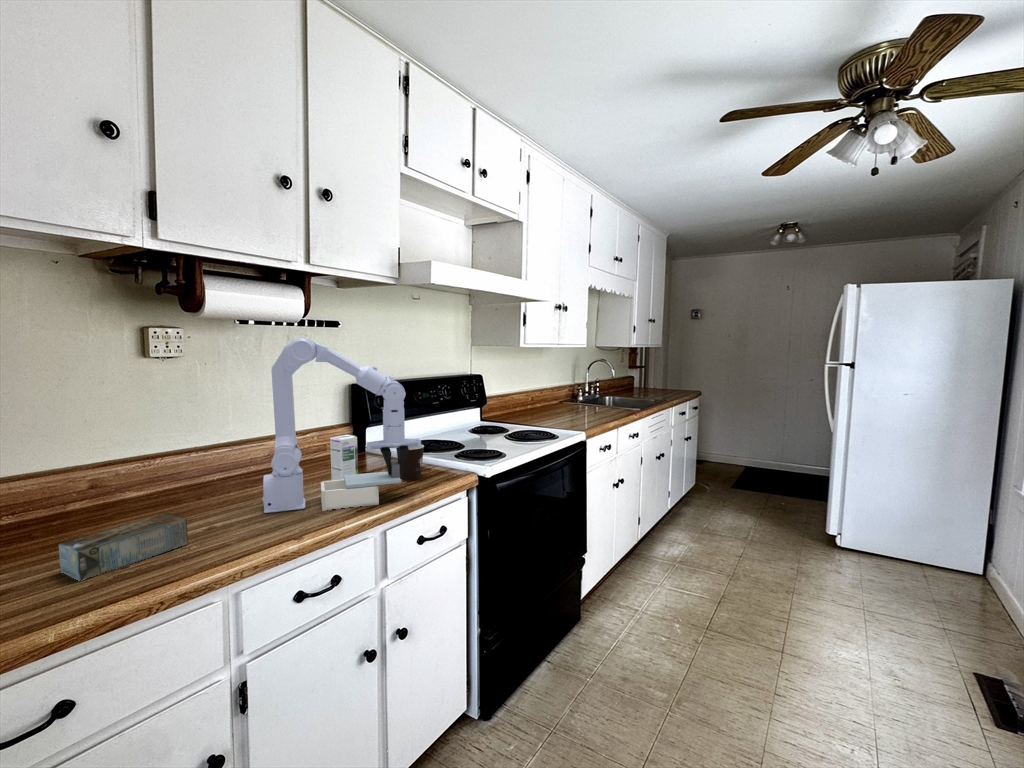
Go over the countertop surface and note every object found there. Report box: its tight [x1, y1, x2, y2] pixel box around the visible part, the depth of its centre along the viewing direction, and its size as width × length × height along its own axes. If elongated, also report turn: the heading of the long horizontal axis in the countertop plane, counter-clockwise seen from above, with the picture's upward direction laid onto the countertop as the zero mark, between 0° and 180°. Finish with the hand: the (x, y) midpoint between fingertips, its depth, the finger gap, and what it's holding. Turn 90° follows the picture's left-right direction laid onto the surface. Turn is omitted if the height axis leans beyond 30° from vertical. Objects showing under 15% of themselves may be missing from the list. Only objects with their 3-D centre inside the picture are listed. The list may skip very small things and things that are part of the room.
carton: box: [320, 479, 380, 512], centre depth 131 cm, size 14×10×5 cm
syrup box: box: [329, 434, 359, 481], centre depth 148 cm, size 6×6×14 cm
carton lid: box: [344, 460, 402, 488], centre depth 133 cm, size 14×10×4 cm
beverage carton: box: [58, 512, 189, 582], centre depth 97 cm, size 8×19×7 cm, turn 152°
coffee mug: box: [395, 444, 425, 481], centre depth 157 cm, size 12×9×10 cm
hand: (394, 473), depth 136 cm, fingers closed on carton lid, 2 cm apart
